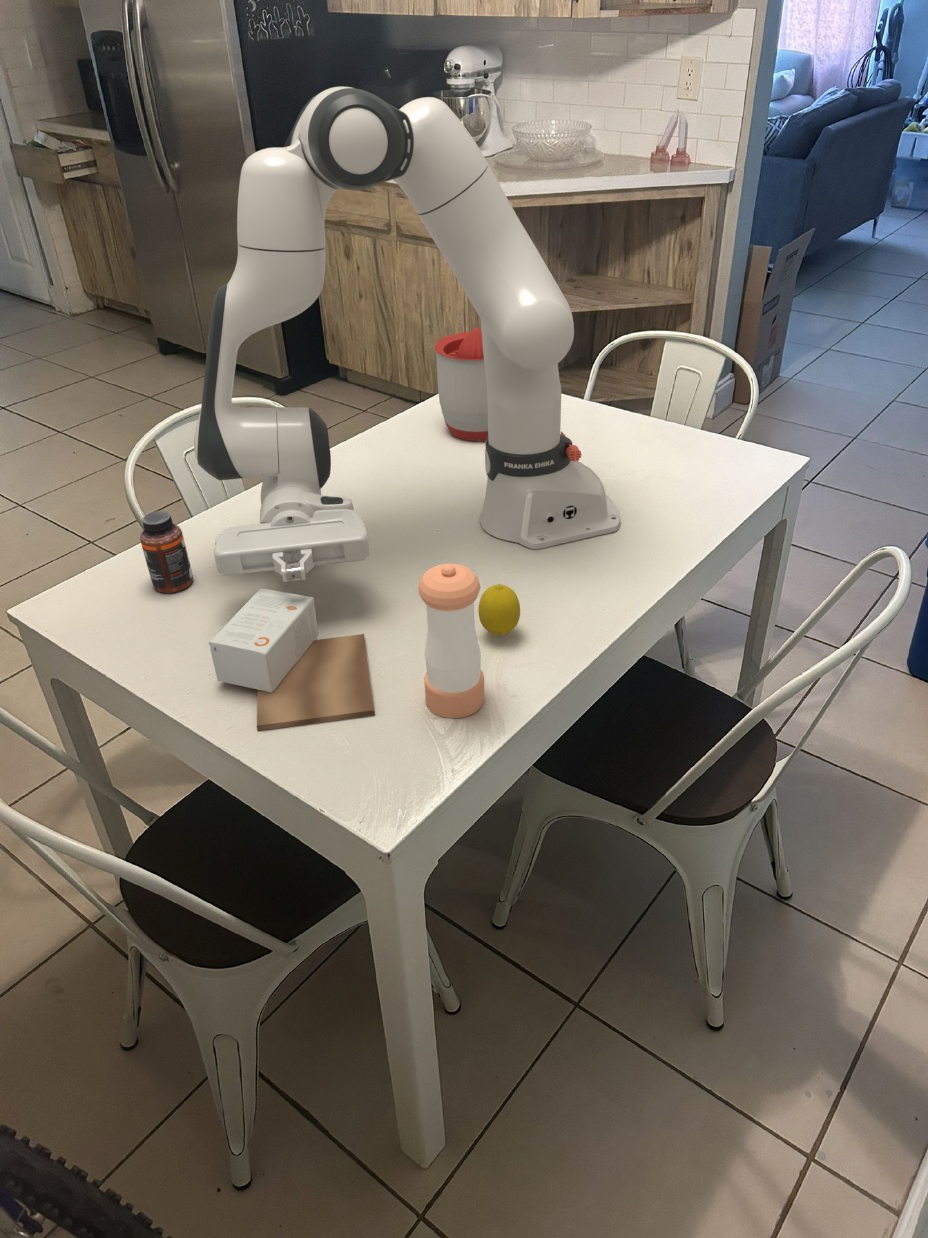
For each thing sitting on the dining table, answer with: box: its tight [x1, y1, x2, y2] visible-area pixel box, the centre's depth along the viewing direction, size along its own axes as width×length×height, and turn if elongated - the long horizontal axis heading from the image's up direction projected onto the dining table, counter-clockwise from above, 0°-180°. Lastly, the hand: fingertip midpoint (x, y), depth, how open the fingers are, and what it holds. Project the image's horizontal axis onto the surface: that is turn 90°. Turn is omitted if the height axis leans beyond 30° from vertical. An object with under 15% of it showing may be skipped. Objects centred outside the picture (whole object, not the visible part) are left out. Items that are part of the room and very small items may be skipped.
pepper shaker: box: [417, 563, 486, 719], centre depth 108 cm, size 7×7×19 cm
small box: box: [208, 587, 319, 693], centre depth 119 cm, size 8×6×13 cm
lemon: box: [477, 584, 521, 637], centre depth 122 cm, size 6×6×8 cm
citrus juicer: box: [433, 327, 488, 442], centre depth 174 cm, size 16×17×20 cm
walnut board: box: [256, 633, 376, 732], centre depth 117 cm, size 14×16×1 cm
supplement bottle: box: [139, 510, 194, 594], centre depth 134 cm, size 6×6×11 cm
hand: (293, 576), depth 117 cm, fingers closed
